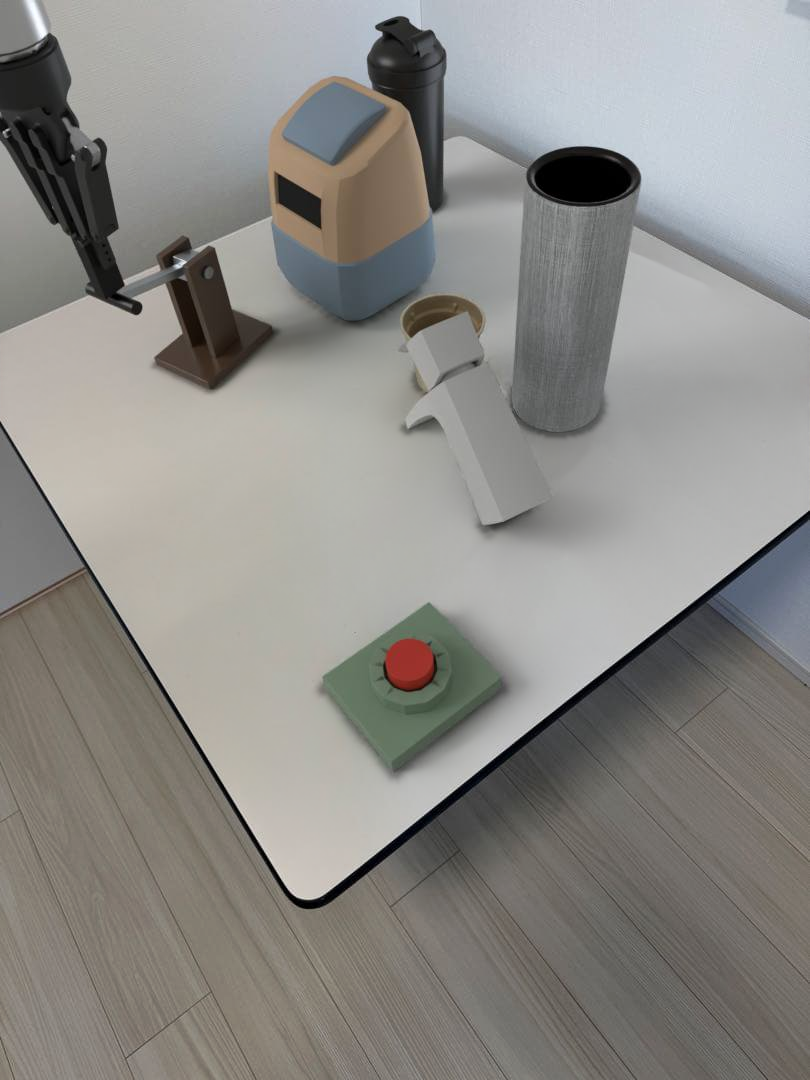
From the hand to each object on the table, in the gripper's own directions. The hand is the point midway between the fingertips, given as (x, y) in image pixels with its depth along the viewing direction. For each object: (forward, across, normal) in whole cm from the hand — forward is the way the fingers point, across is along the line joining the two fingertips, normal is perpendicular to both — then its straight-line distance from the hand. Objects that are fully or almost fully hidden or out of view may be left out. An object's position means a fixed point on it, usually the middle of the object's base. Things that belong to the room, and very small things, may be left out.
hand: (110, 290), depth 84 cm
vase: (+16, -41, -23) cm, 49 cm away
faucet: (+16, -38, -9) cm, 42 cm away
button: (+12, -47, +15) cm, 50 cm away
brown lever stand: (+16, 0, -11) cm, 19 cm away
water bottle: (+16, -4, -50) cm, 53 cm away
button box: (+16, -46, +15) cm, 51 cm away
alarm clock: (+16, -8, -30) cm, 35 cm away
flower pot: (+16, -28, -20) cm, 38 cm away
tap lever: (+4, 0, -5) cm, 6 cm away
